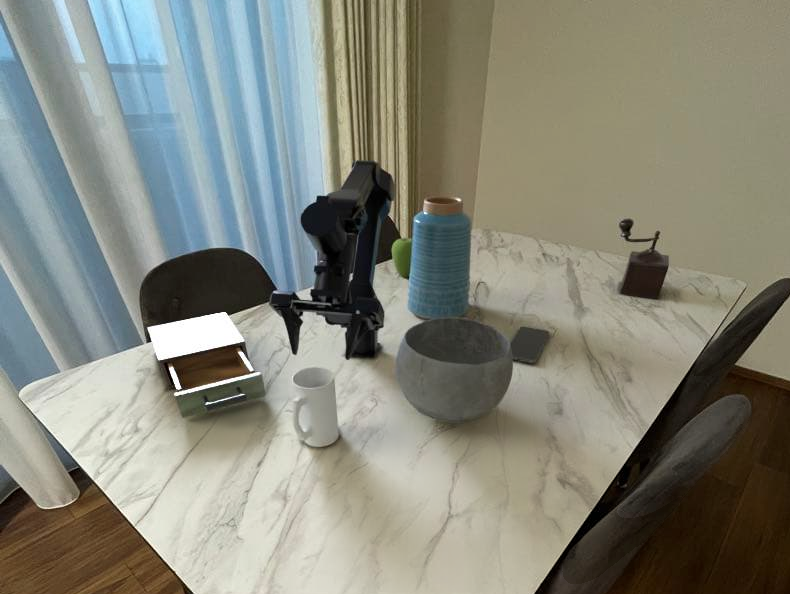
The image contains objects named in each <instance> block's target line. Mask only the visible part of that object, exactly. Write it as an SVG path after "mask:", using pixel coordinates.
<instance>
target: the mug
mask: <svg viewBox="0 0 790 594" xmlns="http://www.w3.org/2000/svg"><path fill="white" fill-rule="evenodd" d="M291 383H292V389H293V394H294V399H293V400H292V412H291V413H292V415H291V417H292V426H293V430H294V431H295V433H296V435H297V437H298V439H299V440H300V441H303V442H304V443H305V444H306V445H308V446H310V447H315V448H322V447H328V446H330V445H332V444H334V443H335V442H336V441H337V440H338V438H339V434H340V433H339V419H338V408H337V407H338V406H337V396H336V395H337V394H336V382H335V373H334V372H333V371H332V370H330V369H329V368H327V367H322V366H310V367H304V368H301V369H299V370H298V371H296V372H295V373H294V374H293V375H292V377H291Z"/></svg>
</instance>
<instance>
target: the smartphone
mask: <svg viewBox="0 0 790 594" xmlns="http://www.w3.org/2000/svg"><path fill="white" fill-rule="evenodd" d="M549 335H550V331H549V330H546V329H540V328H535V327H530V326H524V325H522V326H519V327H518V329H517V331H516V333H515V334H514V336H513V337H512V339H511V341H510V345H511V350H512V355H513V361H517V362H522V363H527V364H535V363H537V360H538V358H539V356H540V354H541V352H542V349H543V348H544V345H545V344H546V341H547V340H548V339H549V338H548V337H549Z"/></svg>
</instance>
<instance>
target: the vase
mask: <svg viewBox="0 0 790 594" xmlns="http://www.w3.org/2000/svg"><path fill="white" fill-rule="evenodd" d="M412 220H413V221H412V222H413V225H412V236H411V237H412V238H411V239H412V251H411V264H410V265H411V266H410V274H409V276H408V277H409V278H408V286H407V287H408V293H407V302H406V304H407V305H406V306H407V308H408V309H407V310H408V311H409V312H411V313H412V314H413V315H415V316H416V317H418V318H421V319H423V320H426V321H427V320H431V319H434V318H441V317H459V318H461V317H463V316H464V315H466V313H467V312H468V311H469V308H470V301H469V300H470V290H471V289H470V287H471V286H470V285H471V280H470V279H471V274H470V272H471V253H472V252H471V251H472V249H471V248H472V226H473V225H472V223H473V219H472V217H471V216H470V215H469V214H467V213H466V212H465V211H464V200H463V199H462V198H460V197H457V196H449V195H432V196H429V197H425V198H424V200H423V210H421V211H420V212H418V213H417V214H415V215H414V217H413V219H412Z"/></svg>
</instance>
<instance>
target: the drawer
mask: <svg viewBox="0 0 790 594" xmlns="http://www.w3.org/2000/svg"><path fill="white" fill-rule="evenodd" d="M249 362H250V360H249V361H248V360H247V358H246V357H245V355H244V354H243V352H242V351H241V349H240V347H239V346H237V347H232V348H228V349H223V350H219V351H214V352H210V353H206V354H201V355H197V356H192V357H188V358H183V359H179V360H175V361H170V362H167V365H168V368H169V370H170V373H171V376H172V379H173V382H174V384H175V387H176V388H175V389H176V392H174V393H173V396H174V400H175V402H176V404H177V407H178V410H179V413H180V416H181V418H182V419H187V418H190V417H193V416H197V415H201V414H204V413H209V412H213V411H215V410H219V409H223V408H227V407H230V406H234V405H238V404H241V403H244V402H249V401H252V400H256V399H260V398H263V397H266V396H267V394H266V389H265V384H264V379H263V375H262V373H261V372H260V371H257V372H255V370H254V368H253V366H252V365H251V363H249Z"/></svg>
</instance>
